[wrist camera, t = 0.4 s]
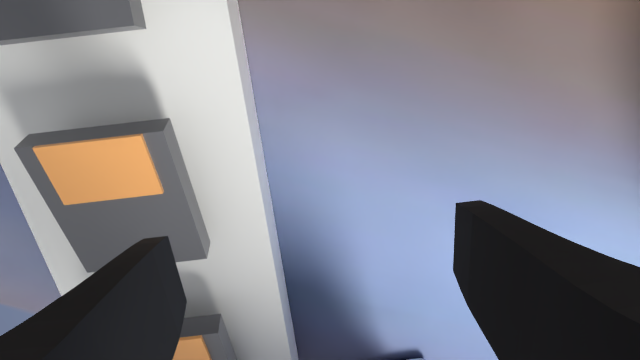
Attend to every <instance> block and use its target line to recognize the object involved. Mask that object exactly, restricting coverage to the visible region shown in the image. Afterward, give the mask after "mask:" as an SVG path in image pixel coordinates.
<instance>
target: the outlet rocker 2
mask: <svg viewBox="0 0 640 360" xmlns="http://www.w3.org/2000/svg"><path fill="white" fill-rule="evenodd" d="M14 150H15V152H16V153H17V155H18V157H19V158H20V160H21V162H22V163H23V165H24V167H25V169H26V170H27V172H28V174H29V175H30V177H31V179H32V180H33V182H34V184H35V185H36V187H37V189H38V191H39V192H40V194H41V196H42V197H43V199H44V201H45V202H46V204H47V206H48V207H49V209H50V211H51V212H52V214H53V216H54V218H55V219H56V221H57V223H58V224H59V226H60V228H61V229H62V231H63V233H64V234H65V236H66V238H67V240H68V241H69V243H70V245H71V246H72V248H73V250H74V251H75V253H76V255H77V256H78V258H79V260H80V261H81V263H82V265H83V267H84V268H85V270H86V272H87V273H90V272H96V271H98V270H99V269H100V268H102V267H103V266H104V265H106V264H107V263H108V262H110V261H111V260H113V259H114V258H115V257H117V256H118V255H119V254H121V253H122V252H124V251H125V250H126V249H128V248H129V247H131V246H132V245H134V244H135V243H137V242H139V241H140V240H142V239H144V238H153V237H162V236H168V238H169V241H170V245H171V248H172V252H173V255H174V258H175V262H183V261H191V260H200V259H207V257H208V252H209V247H210V239H209V236H208V233H207V230H206V227H205V224H204V221H203V218H202V215H201V211H200V208H199V205H198V202H197V199H196V196H195V193H194V190H193V187H192V184H191V181H190V178H189V175H188V172H187V169H186V166H185V163H184V160H183V157H182V154H181V150H180V147H179V144H178V141H177V138H176V135H175V132H174V129H173V126H172V123H171V120H170V118H165V119H156V120H147V121H139V122H130V123H121V124H112V125H104V126H95V127H86V128H78V129H69V130H60V131H52V132H43V133H34V134H28V135H27V136H26V137H25V138H24V139H23V140H22V141H21V142H20V143H19V144H18V145H17V146H16V147H14Z"/></svg>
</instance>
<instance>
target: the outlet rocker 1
mask: <svg viewBox="0 0 640 360" xmlns="http://www.w3.org/2000/svg"><path fill="white" fill-rule="evenodd" d="M141 29H146V24H145V19H144V14H143V9H142V4H141V0H0V45H8V44H17V43H26V42H35V41H44V40H53V39H61V38H70V37H79V36H88V35H97V34H106V33H114V32H123V31H132V30H141Z"/></svg>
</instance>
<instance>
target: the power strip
mask: <svg viewBox="0 0 640 360" xmlns="http://www.w3.org/2000/svg"><path fill="white" fill-rule="evenodd" d="M141 4H142V9H143V14H144V19H145V24H146V29H141V30H132V31H123V32H114V33H106V34H97V35H88V36H79V37H70V38H61V39H53V40H44V41H35V42H26V43H17V44H8V45H0V163H1V166H2V168H3V170H4V172H5V174H6V177H7V179H8V181H9V183H10V185H11V187H12V190H13V192H14V194H15V196H16V198H17V200H18V203H19V205H20V207H21V209H22V211H23V214H24V216H25V218H26V220H27V222H28V224H29V227H30V229H31V231H32V233H33V235H34V238H35V240H36V242H37V244H38V246H39V248H40V251H41V253H42V255H43V257H44V259H45V261H46V264H47V266H48V268H49V270H50V272H51V275H52V277H53V279H54V281H55V283H56V285H57V288H58V290H59V292H60V294H61V296H63V295H64V294H66V293H67V292H69V291H70V290H71V289H73V288H74V287H76V286H77V285H79V284H80V283H81V282H83V281H84V280H85V279H87V278H88V277H89V276H91V275H92V274H94V273H95V272H90V273H87V272H86V270H85V268H84V267H83V265H82V263H81V261H80V260H79V258H78V256H77V255H76V253H75V251H74V250H73V248H72V246H71V245H70V243H69V241H68V240H67V238H66V236H65V234H64V233H63V231H62V229H61V228H60V226H59V224H58V223H57V221H56V219H55V218H54V216H53V214H52V212H51V211H50V209H49V207H48V206H47V204H46V202H45V201H44V199H43V197H42V196H41V194H40V192H39V191H38V189H37V187H36V185H35V184H34V182H33V180H32V179H31V177H30V175H29V174H28V172H27V170H26V169H25V167H24V165H23V163H22V162H21V160H20V158H19V157H18V155H17V153H16V152H15V150H14V147H16V146H17V145H18V144H19V143H20V142H21V141H22V140H23V139H24V138H25V137H26V136H27V135H28V134H34V133H43V132H52V131H60V130H69V129H78V128H86V127H95V126H104V125H112V124H121V123H130V122H139V121H147V120H156V119H165V118H170V120H171V123H172V126H173V129H174V132H175V135H176V138H177V141H178V144H179V147H180V150H181V154H182V157H183V160H184V163H185V166H186V169H187V172H188V175H189V178H190V181H191V184H192V187H193V190H194V193H195V196H196V199H197V202H198V205H199V208H200V211H201V215H202V218H203V221H204V224H205V227H206V230H207V233H208V236H209V239H210V247H209V252H208V257H207V259H200V260H191V261H183V262H176V265H177V269H178V272H179V276H180V279H181V282H182V286H183V289H184V293H185V296H186V299H187V304H186V309H185V315H184V318H188V317H196V316H205V315H213V314H221V315H222V318H223V321H224V323H225V326H226V329H227V332H228V335H229V338H230V340H231V343H232V346H233V349H234V352H235V354H236V357H237V360H298V353H297V347H296V341H295V335H294V329H293V323H292V317H291V312H290V306H289V300H288V294H287V288H286V282H285V276H284V270H283V265H282V259H281V253H280V247H279V241H278V235H277V229H276V223H275V218H274V212H273V206H272V200H271V194H270V188H269V182H268V176H267V171H266V165H265V159H264V153H263V147H262V141H261V135H260V130H259V124H258V118H257V112H256V106H255V100H254V94H253V88H252V83H251V77H250V71H249V65H248V59H247V53H246V47H245V41H244V36H243V30H242V24H241V18H240V12H239V6H238V0H141Z"/></svg>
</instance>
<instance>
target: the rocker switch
mask: <svg viewBox="0 0 640 360" xmlns="http://www.w3.org/2000/svg"><path fill="white" fill-rule="evenodd" d="M172 360H237V357H236V354H235V352H234V349H233V346H232V343H231V340H230V338H229V335H228V332H227V329H226V326H225V323H224V321H223V318H222V315H221V314H213V315H205V316H196V317H188V318H184V320H183V325H182V330H181V334H180V339H179V342H178V345H177V348H176V351H175V354H174V357H173V359H172Z"/></svg>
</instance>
